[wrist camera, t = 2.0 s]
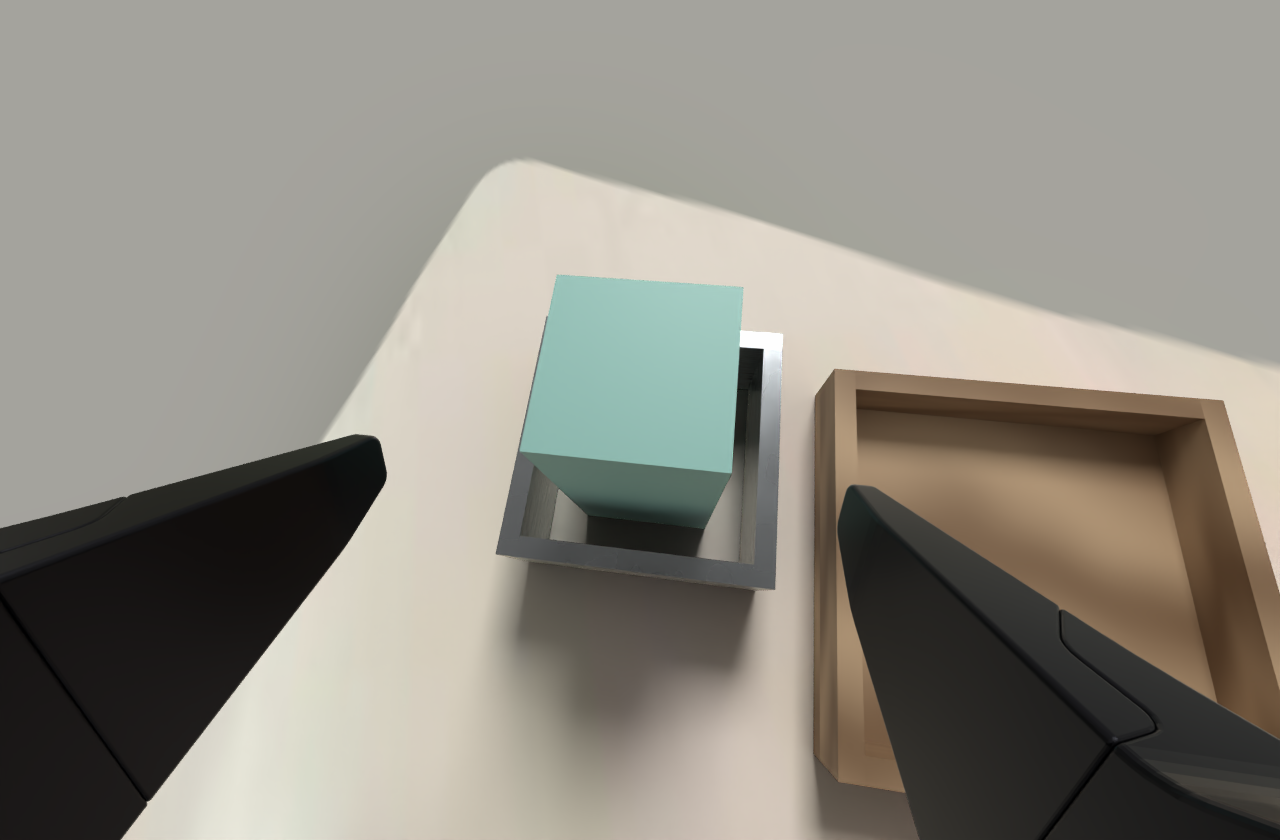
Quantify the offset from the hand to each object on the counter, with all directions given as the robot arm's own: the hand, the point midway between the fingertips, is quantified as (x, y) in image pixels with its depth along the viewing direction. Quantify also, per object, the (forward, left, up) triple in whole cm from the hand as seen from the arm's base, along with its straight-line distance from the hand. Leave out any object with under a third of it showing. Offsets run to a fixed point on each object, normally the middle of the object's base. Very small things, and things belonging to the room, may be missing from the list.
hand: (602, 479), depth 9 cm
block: (+3, 0, -12) cm, 12 cm away
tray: (0, -14, -12) cm, 18 cm away
